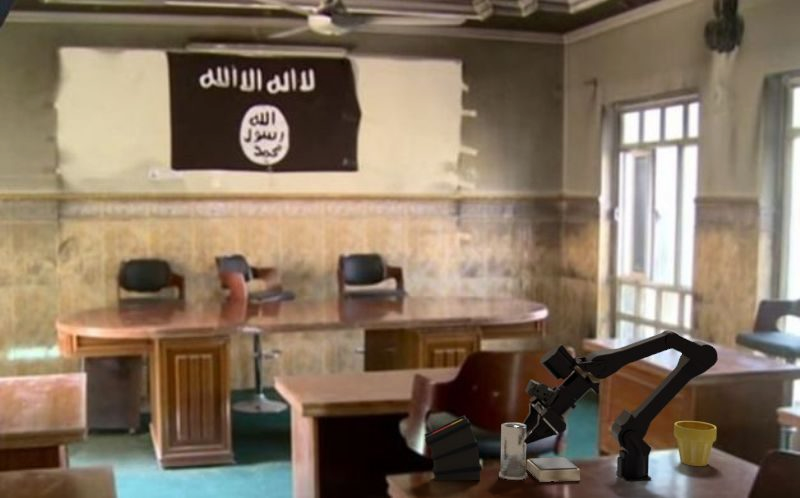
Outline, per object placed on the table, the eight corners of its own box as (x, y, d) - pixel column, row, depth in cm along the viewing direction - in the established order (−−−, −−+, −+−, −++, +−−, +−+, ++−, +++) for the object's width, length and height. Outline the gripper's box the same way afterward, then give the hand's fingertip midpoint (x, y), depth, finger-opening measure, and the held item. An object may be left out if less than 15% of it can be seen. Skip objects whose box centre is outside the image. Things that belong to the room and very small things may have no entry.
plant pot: (716, 459, 236) (717, 422, 235) (714, 470, 226) (715, 431, 226) (674, 455, 239) (675, 418, 239) (671, 465, 230) (672, 427, 229)
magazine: (494, 474, 215) (467, 417, 214) (444, 498, 214) (417, 441, 213) (491, 469, 218) (465, 414, 217) (442, 493, 218) (416, 437, 217)
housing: (522, 472, 222) (523, 421, 222) (531, 480, 216) (531, 428, 215) (495, 473, 221) (496, 422, 221) (503, 481, 215) (504, 429, 214)
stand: (565, 468, 226) (565, 456, 226) (579, 480, 216) (580, 468, 216) (526, 470, 224) (527, 458, 224) (539, 482, 214) (539, 469, 214)
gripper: (539, 362, 227) (494, 405, 227) (553, 376, 208) (504, 423, 209) (569, 394, 227) (524, 437, 228) (586, 410, 209) (537, 457, 209)
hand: (522, 437), depth 218 cm, fingers open, 9 cm apart
